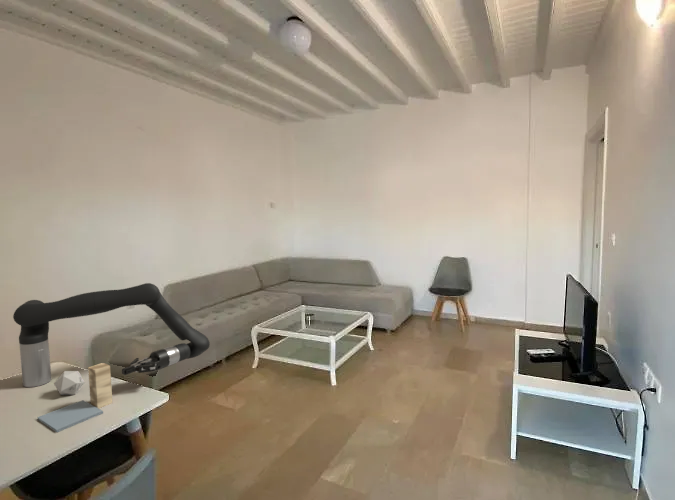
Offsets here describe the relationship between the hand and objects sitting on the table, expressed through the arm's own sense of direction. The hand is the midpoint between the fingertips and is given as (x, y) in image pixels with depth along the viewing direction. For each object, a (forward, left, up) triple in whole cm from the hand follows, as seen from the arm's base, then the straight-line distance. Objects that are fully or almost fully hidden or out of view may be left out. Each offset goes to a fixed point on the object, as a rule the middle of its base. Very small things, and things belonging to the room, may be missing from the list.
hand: (123, 372), depth 149 cm
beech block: (0, -8, -9) cm, 12 cm away
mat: (0, -18, -9) cm, 20 cm away
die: (-19, -10, -9) cm, 23 cm away
